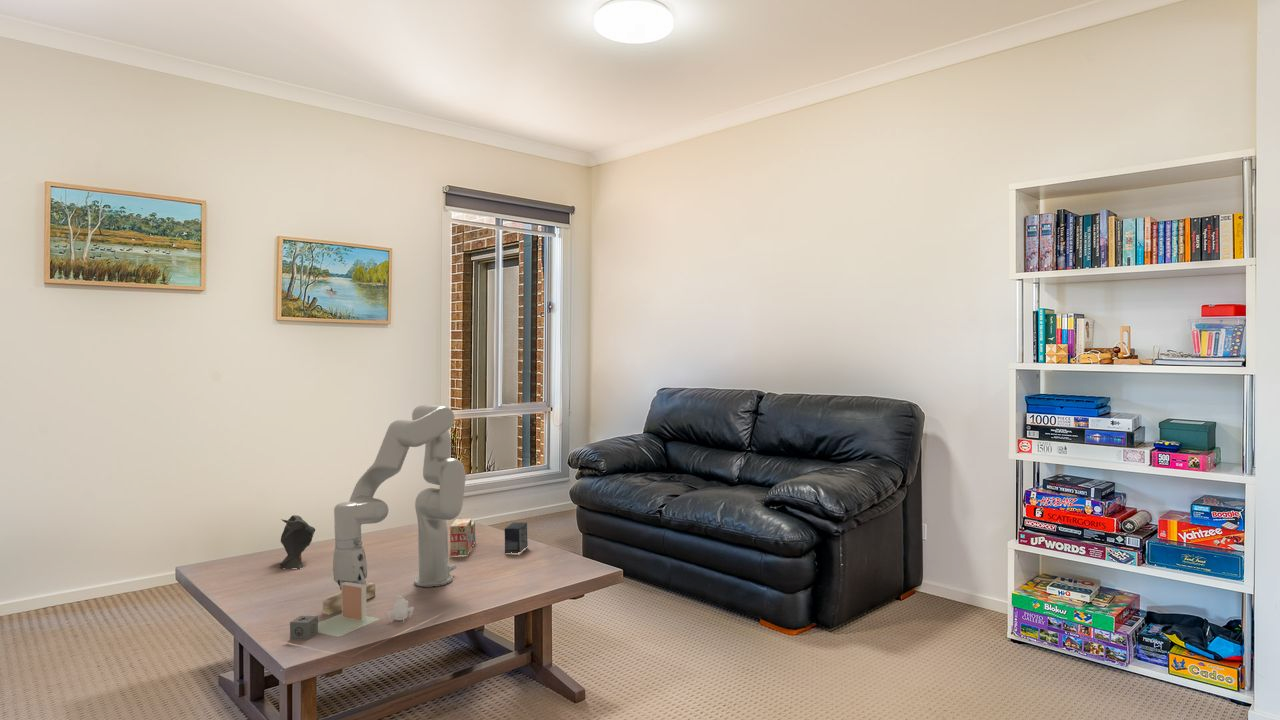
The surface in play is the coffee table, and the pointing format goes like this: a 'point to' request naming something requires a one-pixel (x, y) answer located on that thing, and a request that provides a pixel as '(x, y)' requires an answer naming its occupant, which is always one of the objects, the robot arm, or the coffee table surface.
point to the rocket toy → (400, 609)
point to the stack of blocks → (462, 536)
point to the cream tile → (354, 601)
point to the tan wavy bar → (335, 602)
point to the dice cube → (304, 627)
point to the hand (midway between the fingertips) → (350, 602)
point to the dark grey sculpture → (295, 541)
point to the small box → (516, 537)
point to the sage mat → (341, 625)
